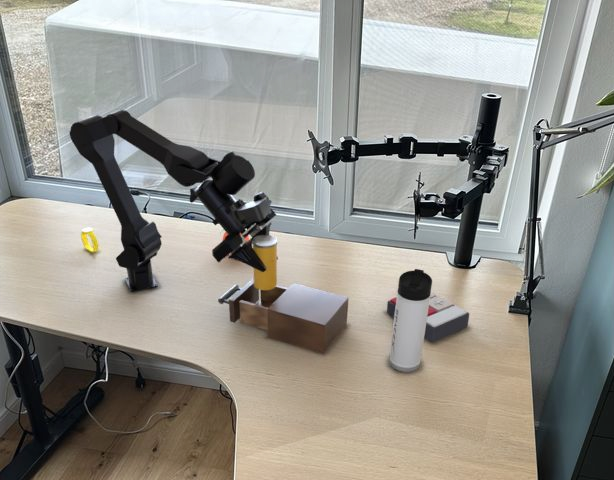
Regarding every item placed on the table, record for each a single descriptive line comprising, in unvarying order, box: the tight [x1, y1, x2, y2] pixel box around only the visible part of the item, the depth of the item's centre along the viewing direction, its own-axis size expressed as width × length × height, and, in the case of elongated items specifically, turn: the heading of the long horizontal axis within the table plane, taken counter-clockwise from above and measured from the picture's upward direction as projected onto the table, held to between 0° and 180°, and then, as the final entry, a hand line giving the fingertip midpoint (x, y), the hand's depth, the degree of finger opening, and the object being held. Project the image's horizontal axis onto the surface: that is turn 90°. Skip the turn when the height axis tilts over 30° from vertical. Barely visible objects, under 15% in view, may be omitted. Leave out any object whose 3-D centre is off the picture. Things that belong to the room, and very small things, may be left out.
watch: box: [80, 227, 100, 254], centre depth 169 cm, size 6×3×6 cm, turn 46°
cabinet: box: [267, 282, 349, 355], centre depth 140 cm, size 13×12×7 cm
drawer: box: [217, 277, 289, 331], centre depth 145 cm, size 16×11×6 cm
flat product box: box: [386, 291, 470, 343], centre depth 146 cm, size 11×4×15 cm
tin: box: [252, 235, 278, 291], centre depth 139 cm, size 5×5×10 cm
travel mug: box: [388, 268, 433, 373], centre depth 128 cm, size 6×7×20 cm
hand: (270, 265), depth 139 cm, fingers closed on tin, 5 cm apart
